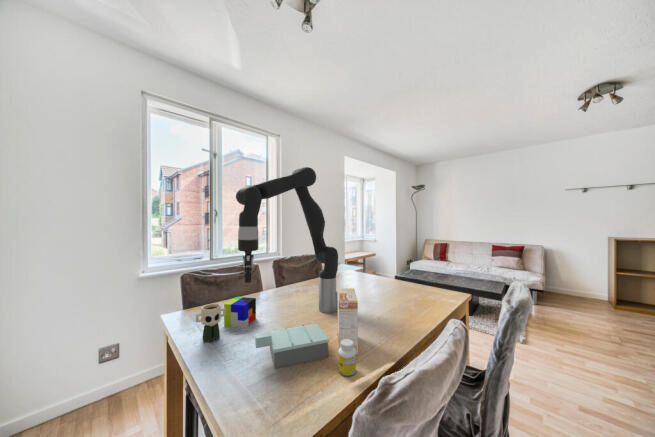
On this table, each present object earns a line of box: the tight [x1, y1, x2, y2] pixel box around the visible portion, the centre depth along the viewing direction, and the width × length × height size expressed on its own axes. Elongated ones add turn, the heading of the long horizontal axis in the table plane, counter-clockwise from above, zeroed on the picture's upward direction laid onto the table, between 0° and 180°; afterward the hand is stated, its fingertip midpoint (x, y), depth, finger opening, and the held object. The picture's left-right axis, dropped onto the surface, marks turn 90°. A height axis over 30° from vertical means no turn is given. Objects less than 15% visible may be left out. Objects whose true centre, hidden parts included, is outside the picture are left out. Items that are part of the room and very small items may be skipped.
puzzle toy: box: [223, 296, 257, 329], centre depth 109 cm, size 10×10×10 cm
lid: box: [254, 323, 330, 353], centre depth 82 cm, size 24×13×3 cm, turn 110°
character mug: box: [195, 303, 226, 343], centre depth 94 cm, size 11×7×13 cm, turn 127°
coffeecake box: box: [337, 287, 359, 355], centre depth 89 cm, size 15×7×20 cm, turn 178°
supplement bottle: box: [338, 339, 357, 378], centre depth 73 cm, size 5×5×10 cm
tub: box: [269, 342, 329, 370], centre depth 83 cm, size 18×12×6 cm, turn 110°
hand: (248, 279), depth 91 cm, fingers open, 8 cm apart
